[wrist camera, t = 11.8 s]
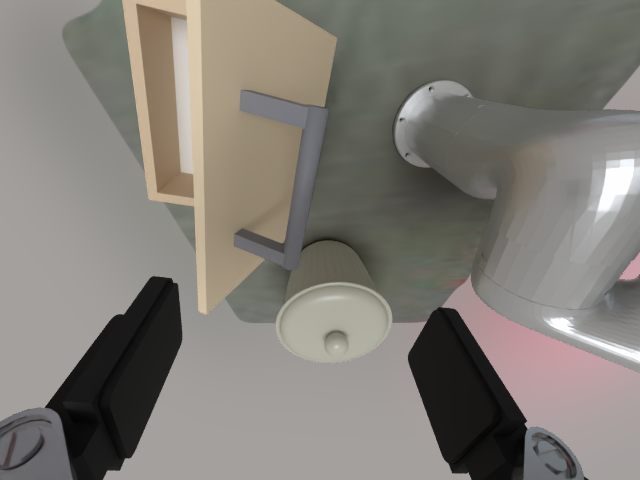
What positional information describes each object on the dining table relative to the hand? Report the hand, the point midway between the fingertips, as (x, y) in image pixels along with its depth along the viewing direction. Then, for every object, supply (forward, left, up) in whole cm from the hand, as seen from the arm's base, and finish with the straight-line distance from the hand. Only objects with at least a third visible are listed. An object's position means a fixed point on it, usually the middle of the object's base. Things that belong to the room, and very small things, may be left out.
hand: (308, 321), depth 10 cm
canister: (-9, +25, -38) cm, 47 cm away
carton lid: (+3, 0, -19) cm, 19 cm away
